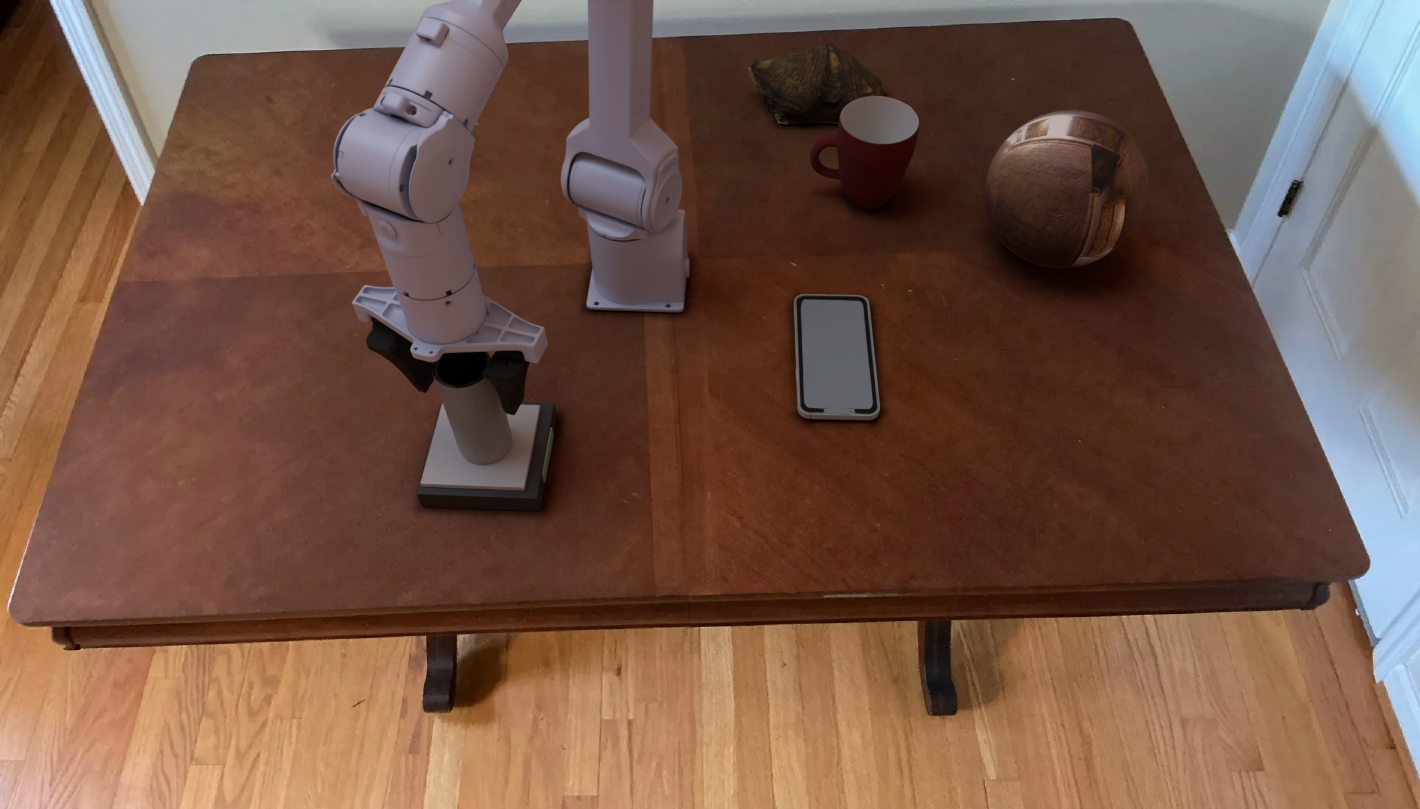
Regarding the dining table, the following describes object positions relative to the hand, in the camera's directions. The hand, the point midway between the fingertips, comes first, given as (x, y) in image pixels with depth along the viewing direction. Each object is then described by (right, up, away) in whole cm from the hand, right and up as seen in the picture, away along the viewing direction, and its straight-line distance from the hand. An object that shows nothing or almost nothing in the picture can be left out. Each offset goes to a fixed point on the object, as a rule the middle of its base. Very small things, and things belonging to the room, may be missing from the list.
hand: (471, 394), depth 79 cm
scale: (0, -6, +7) cm, 9 cm away
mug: (+35, +21, +28) cm, 50 cm away
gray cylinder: (0, -4, +5) cm, 7 cm away
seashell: (+31, +34, +38) cm, 60 cm away
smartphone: (+31, +3, +14) cm, 34 cm away
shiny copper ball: (+53, +15, +23) cm, 60 cm away
